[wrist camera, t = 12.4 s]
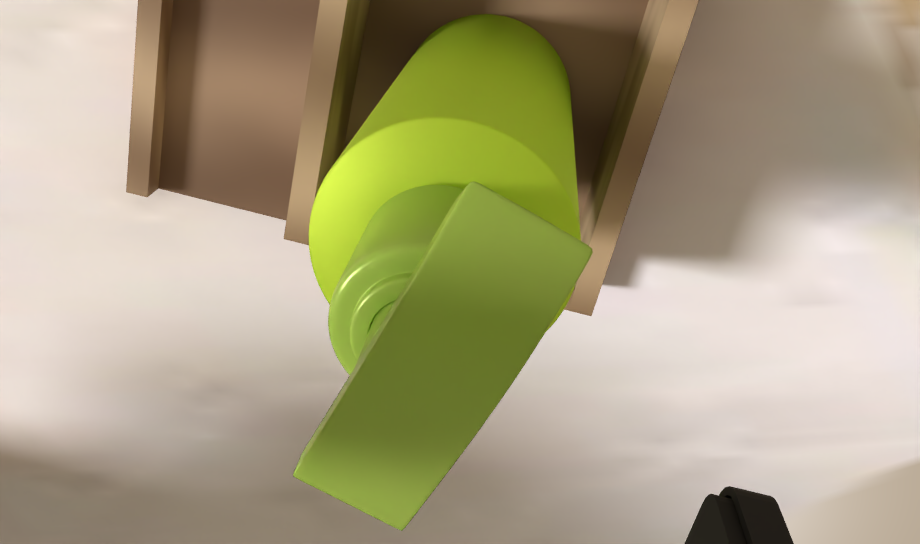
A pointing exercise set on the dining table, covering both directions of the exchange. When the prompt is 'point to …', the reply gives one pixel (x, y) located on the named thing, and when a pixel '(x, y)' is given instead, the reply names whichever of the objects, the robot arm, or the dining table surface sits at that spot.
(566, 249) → the soap dispenser
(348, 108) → the wooden tray
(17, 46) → the dining table surface
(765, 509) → the robot arm
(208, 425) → the dining table surface
